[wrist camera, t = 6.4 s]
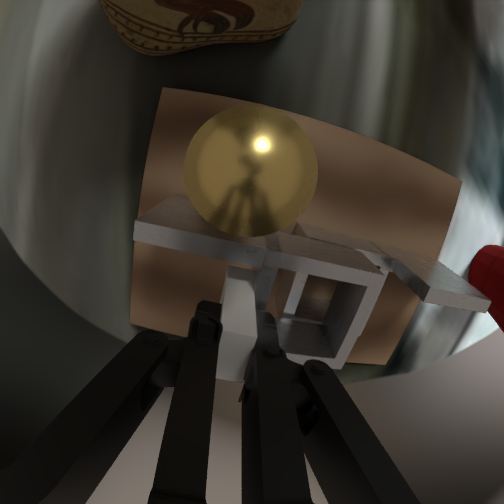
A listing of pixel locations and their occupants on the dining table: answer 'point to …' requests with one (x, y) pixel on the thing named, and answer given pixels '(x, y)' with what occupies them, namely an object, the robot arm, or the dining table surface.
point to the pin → (250, 171)
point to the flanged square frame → (265, 269)
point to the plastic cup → (490, 279)
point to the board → (317, 214)
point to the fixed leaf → (385, 259)
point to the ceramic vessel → (197, 22)
